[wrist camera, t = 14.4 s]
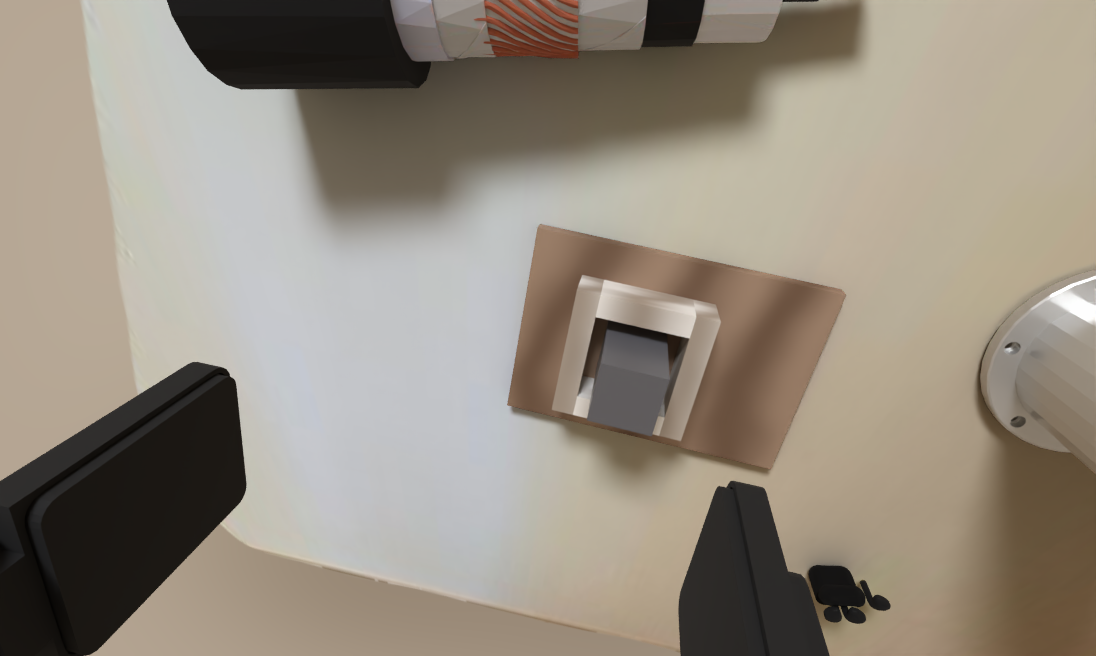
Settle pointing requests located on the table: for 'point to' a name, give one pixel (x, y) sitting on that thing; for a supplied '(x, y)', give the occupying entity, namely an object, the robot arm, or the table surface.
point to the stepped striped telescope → (438, 34)
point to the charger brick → (630, 378)
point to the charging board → (673, 340)
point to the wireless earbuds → (842, 593)
